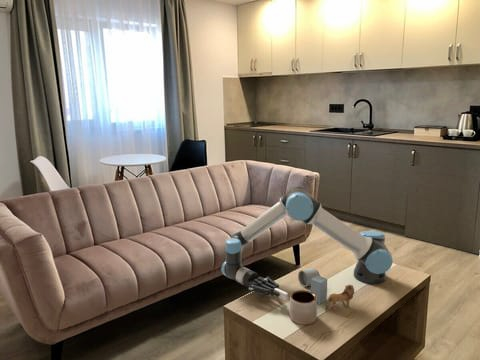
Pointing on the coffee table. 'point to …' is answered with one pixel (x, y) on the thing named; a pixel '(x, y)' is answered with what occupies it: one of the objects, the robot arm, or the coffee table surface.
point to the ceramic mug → (307, 276)
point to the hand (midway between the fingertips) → (286, 296)
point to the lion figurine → (341, 297)
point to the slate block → (319, 288)
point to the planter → (303, 307)
